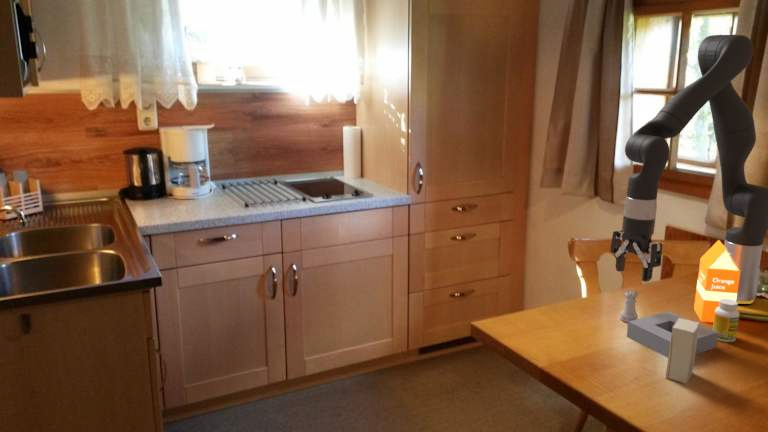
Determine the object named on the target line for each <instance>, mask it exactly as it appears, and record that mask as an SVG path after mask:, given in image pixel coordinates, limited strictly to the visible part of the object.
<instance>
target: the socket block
mask: <svg viewBox="0 0 768 432" xmlns="http://www.w3.org/2000/svg"><path fill="white" fill-rule="evenodd" d="M678 318H683V319H686V318H684V317H682V316H680V315H677V314H675V313H673V312H670V311H669V310H668V311H666V312H660V313H657V314H653V315H649V316H645V317H641V318H637V319H636V320H632V321H628V323H627V329H626V330H627V331H626V337H627V338H628V339H631V340H633V341H635V342H636V343H639V344H640V345H643V346H645V347H647V348H649V349H650V350H653V351H654V352H656V353H659V354H660V355H662V356H664V357H666V358H668V356H669V349H670V342H671V335H672V328H673V326H674V324H675V322H676V321H677V320H678ZM717 334H718V333H717V332H715V331H713V330H712V329H710V328H708V327H705V326H703V325H701V324H700V325H699V332H698V339H697V345H696V352H695V355H698V354H700V353H705V352H708V351H711V350H714V349H716V348H717V341H718V340H717Z"/></svg>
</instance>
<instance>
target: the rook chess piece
mask: <svg viewBox="0 0 768 432" xmlns="http://www.w3.org/2000/svg"><path fill="white" fill-rule="evenodd" d="M624 296H625V299H624V302H625V304H624V307H623V309H622V311H621V312H620V316H619V320H621V321H622V322H623V323H627V324H628V321H632V320H636V319H638V317H639V316H638V313H637V310H636V303H637V300H636V299H637V298H638V294H637V291H635V290H633V289H631V290H630V289H627V290H626V292H625V293H624Z"/></svg>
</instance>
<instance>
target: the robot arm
mask: <svg viewBox="0 0 768 432" xmlns="http://www.w3.org/2000/svg"><path fill="white" fill-rule="evenodd" d="M753 56H754V45H753V42H752V40H751V39H750V38H749V37H748V36H747V35H743V34H742V35H741V34H713V35H708V36H706V37H705V38H704V39H703V40H702V41H701V42H700V44H699V47H698V51H697V62H698V66H699V70H700V73H701V77H699V78H698V79H696V80H695V81H693V82H692V83H690V84H688V85H687V86H686V87H683V89H681V90H680V91H678V92H676V94H674V95H673V96H672V97H671V98H670V99H669V100H668V101H666V103H665V104H664V106H663V107H662V108H661V109H660V110H659V111H658V112H657V114H656V115H655V116H654V117H653V118H652V119H651V120H648V122H646V123H645V124H644V125H642V126H641V127H640V128H638V129H636V131H634V132H633V134H632V135H630V137H628V139H627V141H626V144H625V146H624V153H625V156H626V159H628V160H629V161H632V162H634V163H640V164H642V168H641V169H640V172H634V173H631V174H630V175H629V176H628V179H627V190H626V197H625V201H624V205H623V206H624V207H623V215H622V216H623V217H622V223H621V224H622V225H621V226H622V227H621V230H616V231H612V236H611V237H612V239H611V244H610V253H612V254H614V255H615V257H616V260H615V270H616V271H617V272H624V270H625V265H626V255H627V254H628V253H629V254H634V255H635V256H638V259H639V260H640V261H641V262H642V265H643V268H642V276H641V280H642V281H643V282H644V283H646V282H650V281H651V280H652V279H653V271H654V268H658V267H661V265H662V256H663V254H662V253H663V243H662V242H657V243H656V242H653V240H652V237H653V235H654V233H655V226H656V225H655V224H656V218H657V217H656V216H657V209H658V208H657V207H658V206H657V202H658V201H657V200H658V199H657V197H658V191H659V189H658V188H659V183H660V180H661V177H662V175H663V174H664V171H665V168H666V166H667V163H668V161H669V159H670V146H669V143H668V142H667V140H666V139H671V138H675V137H677V136H678V135H680V133H682V131H684V129H685V128H686V126H687V125H688V124H689V123H690V122H691V120H692V119H693V118H694V117H695V115H696V114H697V113H698V112H699V111H700V110H701V109H702V107H704V106H705V105H706V104H707V103H709V107H710V111H711V112H710V113H711V117H712V123H713V131H714V135H715V136H714V137H715V141H716V146H717V151H718V159H719V166H720V173H721V176H720V177H721V191H722V193H721V194H722V201H723V206H724V208H725V210H726V212H728V213H729V214H730V215H734V216H737V217H741V218H743V223H742V225H741V226H737V227H736V226H735V227H730V228H728V229H726V232H725V237H724V244H723V245H724V246H725V248H726V249H727V251H728V253H729V254H730V256H731V258H732V259H733V261H734V262H735V264H736V266H737V267H738V269H739V270H740V278H739V284H738V291H737V299H736V301H751V300H754V298H756V299H757V294H758V287H759V280H760V275H761V268H760V265H761V261H762V260H761V259H762V252H763V245H764V240H765V237H766V236H767V233H768V187H766V186H762V185H757V184H752V183H748V182H747V179H746V174H745V163H746V162H747V159H748V157H749V156H750V155H751V153H752V151H753V149H754V148H755V144H756V143H757V141H756V140H757V135H756V132H757V131H756V127H755V126H756V125H755V120H754V116H753V114H752V111H751V110H750V107H748V105H747V104H746V102H745V101H744V99H742V97H741V96H740V94H739V93H738V91H737V90H736V89H735V87H734V85H733V84H732V83H733V82H732V81H733V80H734V79H735V78H736V77H737V76H739V75H740V74H741V73H742V72H743V71H744V70H745V69H746V68H747V66H749V64H750V62H751V61H752V59H753V58H752V57H753ZM622 242H623V243H622ZM754 301H755V300H754Z"/></svg>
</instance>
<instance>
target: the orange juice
mask: <svg viewBox="0 0 768 432" xmlns="http://www.w3.org/2000/svg"><path fill="white" fill-rule="evenodd" d="M739 278H740V270H739V269H738V267H737V266H736V264H735V262H734V261H733V259H732V258H731V256H730V254H729V253H728V251H727V249H726V248H725V246H724V244H723V243H722V242H721V240H720V239H718V240H717V241H715V243H714V244H713V245H712V246H711V247H710V248H709V249H707V251H706V252H705V253H704V254H703V255H702V256H701V257H700V258H699V268H698V276H697V281H696V290H695V296H694V297H695V299H694V306H693V309H694V312H695V314H696V315H697V316H698V319H699V320H700V322H702V323H704V322H705V323H713V322H714V314H715V309H716V308H717V307H720V306H719V301H720V299H731V300H734V301H736V299H737V291H738V284H739Z"/></svg>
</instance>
